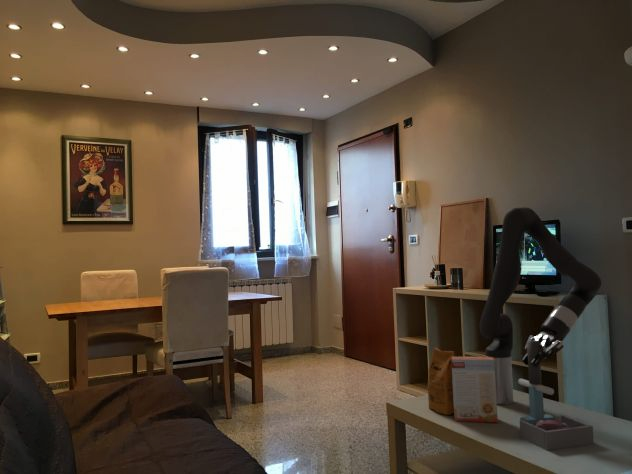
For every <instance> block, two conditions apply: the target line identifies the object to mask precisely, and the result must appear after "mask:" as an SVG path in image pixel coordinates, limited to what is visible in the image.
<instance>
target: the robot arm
mask: <svg viewBox="0 0 632 474" xmlns="http://www.w3.org/2000/svg"><path fill="white" fill-rule="evenodd" d="M501 229H502V230H501V235H500V236H501V237H500V244H499V248H498V249H499V250H498V253H497V258H496V262H495V265H494V270H493V275H492V280H491V284H490V288H489V292H488V295H487V299H486V303H485V305H484V309H483V311H482V313H481V316H480V321H479V331H480V334H481V336H482V337H484V338H485V339H491V340H492V339H493V341H492V342H491V344H490V345H488V346H487V347H486V348H485V357H493V358H494V364H495V381H496V399H497V405H511V404H513V403H514V387H513V367H512V366H513V364H512V363H513V362H512V350H513V347H514V346H513V345H514V327H513V322H512V319H511V318H510V316H509V315H508V314H506V313H502V311H503V308H504V305H505V304H506V303H507V301H508V300H509V299H510V297H511V296H512V295H513V294H514V292H516V289H517V288H518V285H519V283H520V278H521V274H522V261H521V255H520V245H521V241H522V237H523V235H524V233H525V234H526V235H528V236H529V237H531V238H532V239H533V240H534V241H535V242H536V243H537V244H538V246H539V247H540V249H541V252H542V254H543V255H544V257H545V259H546V260H547V262H548V263H549V264H550V265H551V266H552V267H553V268H554V270H556V271H557V272H558V273H559V274H560V275H561V276H562V277H565V278H566V277H567V278H568V277H569V278H570V279H572V280H573V281H574V282H575V283H574V285H573V286H572V288H571V289H570V291H569V292H568V294H566V295H564V297H563V298H562V299H561V300H560V302H559V303H558V304H557V306H556V307H555V308H553V310H552V311H550V313H549V315H548V316H547V317H546V319H545V320H544V321H543V323H542V324H541V326H540V329H541V330H540V332H539V333H537V335H536V336H534V335H532V334H531V335H529V337H528V339H527V341H530V340H534V341H539V344H540V350H539V352H538V354H537V355H536V356H535V357H534V359H533V360H532V361H531V365H532V366H533V367H535V368H537V366H538V365H539V364H540V363H542V362H543V360H546V359H551V358H553V357H554V356H555V355H556V354H557V353H558V352H560V351H561V350H562V349H563V348H564V344H563V343H562V342H563V341H564V339H566V337H567V335H568V334H569V333H570V332H571V330H572V329H573V327H575V325H576V323H577V321H578V319H579V318H580V317H581V315H582V314H583V312H584V310H585V309H586V307H587V306H588V305H589V304H590V303H591V302H592V301H593V299H594V298H595V297H596V295H597V294H598V293H599V290H600V289H601V287H602V280H601V277H600V275H599V274H598V273H596V271H594V270H593V269H592V268H590V267H589V266H587V265H586V264H584V263H582V262H580V261H579V260H578V259H577V258H576V257H575V256H573V254H572V253H571V252H570V251H569V250H568V249H567V248H565V246H564V245H562V244H561V242H559V240H558V239H557V238H556V237H555V236H554V235H553V234H552V232H551V231H550V229H548V227H547V226H546V225H545V223H544V222H543V220H542V219H541V218H540V216H539V215H538V214H537V212H535V210H533V209H532V208H531V207H524V206H522V207H514V208H513V207H512V208H510V209H509V210H507V212H506V213H505V215H504V217H503V221H502V227H501ZM524 349H525V351H526V353H525V355H524V356H523V357H522V359H521V362H522V364H524V365H526V366H528V352H527V343H526V344H525V346H524Z"/></svg>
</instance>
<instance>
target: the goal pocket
mask: <svg viewBox="0 0 632 474" xmlns="http://www.w3.org/2000/svg"><path fill="white" fill-rule="evenodd" d="M560 419H561V420H560V423H566V425H568V426H569V428H565V429H557V430H549V431H546V430H544V429H541V428H539V427H537V426H535V425H532V424H530V423H528V422H526V421H523V420H519V432H520V433H519V437H520V438H521V439H523V440H526V441H527V442H529V443H531V444H532V445H535V446H537V447H539V448H541V449H542V450H545V451H553V450H560V449H567V448H573V447H580V446H588V445H594V443H595V441H594V426H593V425H590V424H588V423H585V422H583V421H580V420H578V419H576V418H573V417H570V416H567V415H565V414H561V415H560Z"/></svg>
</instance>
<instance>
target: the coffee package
mask: <svg viewBox="0 0 632 474" xmlns="http://www.w3.org/2000/svg"><path fill="white" fill-rule="evenodd" d="M456 356H457V352H456V351H454V350H453V351H452V350H440V349H439V348H438V347H434V350H433V353H432V356H431V360H430V363H429V368H428V376H427V396H428V399H427V400H428V409H429V410H433V411H435V412H436V413H437V414H442V415H445V416H449V415H451V414H454V401H453V380H452V357H456Z"/></svg>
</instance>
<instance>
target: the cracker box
mask: <svg viewBox="0 0 632 474" xmlns="http://www.w3.org/2000/svg"><path fill="white" fill-rule="evenodd" d="M452 380H453V401H454V413H453V415H454V422H455V421H456V422H477V423H479V422H480V423H495V424H496V423H499V422H498V420H499V419H498V418H499V417H498V404H497V399H496V381H495V364H494V358H493V357H486V356H455V357H452Z"/></svg>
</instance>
